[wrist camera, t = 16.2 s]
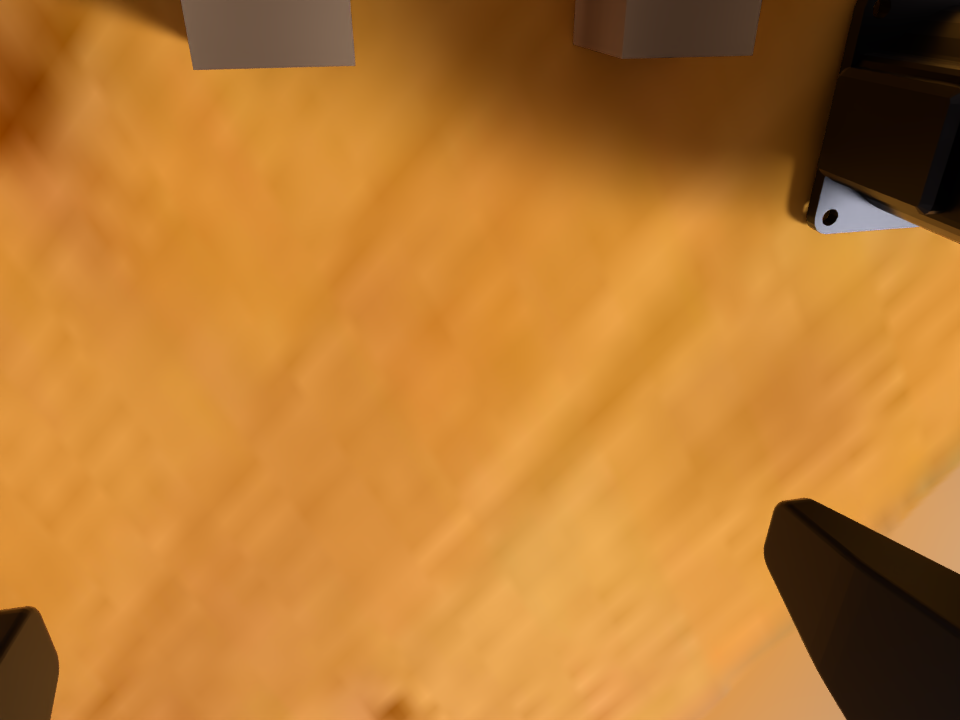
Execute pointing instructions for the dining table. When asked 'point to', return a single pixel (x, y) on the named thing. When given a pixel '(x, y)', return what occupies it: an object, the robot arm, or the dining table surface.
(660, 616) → the dining table surface
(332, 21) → the pair of brown blocks
